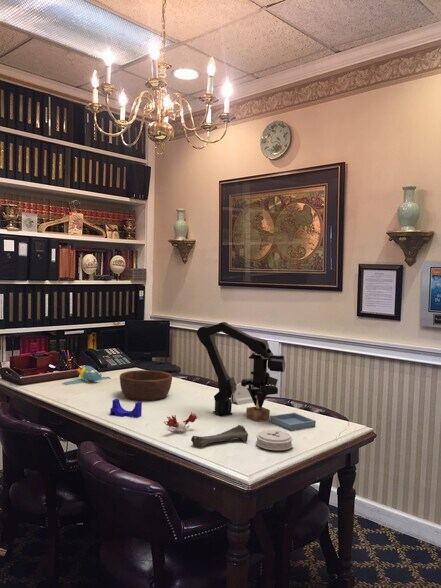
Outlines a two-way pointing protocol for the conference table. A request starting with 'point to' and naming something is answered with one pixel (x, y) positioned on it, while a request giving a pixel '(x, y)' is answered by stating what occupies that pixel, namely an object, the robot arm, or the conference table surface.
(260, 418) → the pin block
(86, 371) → the blue toy parrot
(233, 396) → the hinge
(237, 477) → the conference table surface
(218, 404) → the robot arm
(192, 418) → the figurine
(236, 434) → the bone
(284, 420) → the tray
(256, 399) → the brass pin
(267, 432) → the lid
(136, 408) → the cable clip
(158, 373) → the wooden bowl
